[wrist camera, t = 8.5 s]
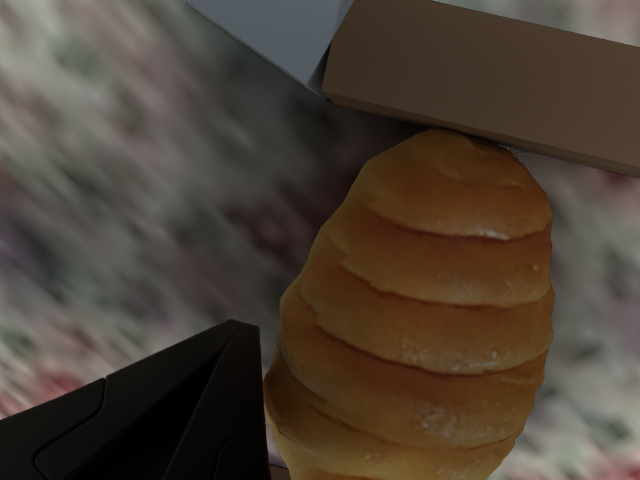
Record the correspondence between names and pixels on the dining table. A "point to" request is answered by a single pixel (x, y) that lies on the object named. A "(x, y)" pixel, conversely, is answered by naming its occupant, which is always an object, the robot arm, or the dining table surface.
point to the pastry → (417, 319)
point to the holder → (453, 73)
